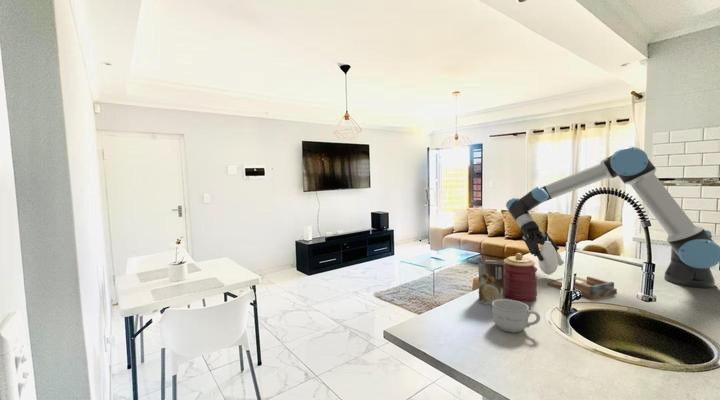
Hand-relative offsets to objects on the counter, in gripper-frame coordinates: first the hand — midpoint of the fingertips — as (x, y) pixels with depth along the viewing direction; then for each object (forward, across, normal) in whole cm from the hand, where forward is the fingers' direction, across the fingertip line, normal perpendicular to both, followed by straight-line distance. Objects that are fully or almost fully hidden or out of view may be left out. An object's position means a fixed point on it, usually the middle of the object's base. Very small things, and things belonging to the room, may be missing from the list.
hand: (554, 265), depth 145 cm
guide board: (+13, -1, +3) cm, 14 cm away
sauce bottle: (+1, 0, -6) cm, 6 cm away
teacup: (+27, +49, +17) cm, 59 cm away
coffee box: (+12, +42, +2) cm, 44 cm away
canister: (+11, +28, +1) cm, 30 cm away
